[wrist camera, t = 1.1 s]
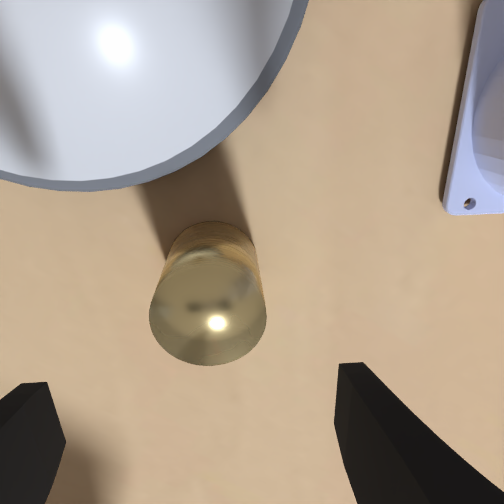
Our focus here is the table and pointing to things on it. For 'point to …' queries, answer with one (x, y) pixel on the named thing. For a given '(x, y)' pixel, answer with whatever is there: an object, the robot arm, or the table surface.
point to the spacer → (209, 296)
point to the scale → (130, 84)
